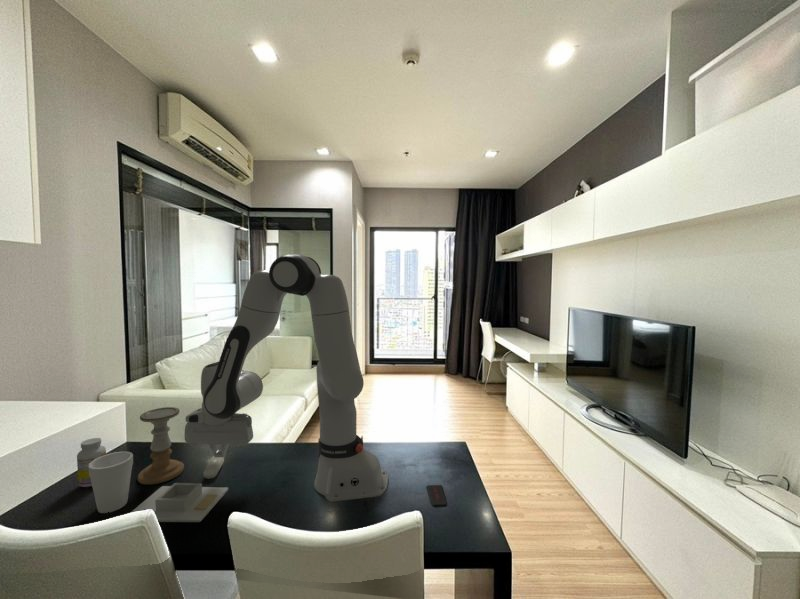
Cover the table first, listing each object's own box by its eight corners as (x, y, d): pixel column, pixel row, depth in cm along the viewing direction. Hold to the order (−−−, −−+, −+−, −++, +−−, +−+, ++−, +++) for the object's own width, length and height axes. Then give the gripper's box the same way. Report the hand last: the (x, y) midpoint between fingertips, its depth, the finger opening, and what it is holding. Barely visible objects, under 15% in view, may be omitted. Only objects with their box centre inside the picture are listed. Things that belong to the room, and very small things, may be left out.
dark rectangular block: (442, 491, 104) (442, 482, 104) (450, 518, 92) (451, 509, 92) (425, 492, 103) (425, 483, 103) (431, 519, 92) (431, 509, 91)
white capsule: (216, 465, 109) (224, 452, 117) (202, 467, 108) (211, 454, 116) (217, 477, 109) (225, 463, 117) (203, 479, 108) (212, 465, 117)
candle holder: (192, 469, 114) (191, 409, 113) (152, 489, 103) (151, 423, 102) (169, 460, 119) (168, 403, 118) (129, 479, 108) (127, 416, 107)
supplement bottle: (102, 473, 111) (100, 434, 110) (110, 479, 107) (109, 439, 107) (74, 483, 105) (72, 442, 104) (82, 490, 102) (81, 448, 101)
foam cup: (108, 519, 90) (107, 471, 89) (80, 514, 91) (78, 466, 91) (142, 497, 99) (141, 453, 98) (116, 493, 101) (115, 449, 100)
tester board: (228, 490, 102) (228, 477, 102) (200, 523, 88) (199, 508, 88) (162, 489, 103) (162, 476, 102) (123, 521, 89) (123, 506, 88)
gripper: (255, 409, 110) (257, 451, 110) (193, 409, 110) (195, 451, 111) (246, 417, 103) (248, 462, 104) (180, 417, 104) (182, 461, 105)
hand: (220, 456), depth 108 cm, fingers closed
